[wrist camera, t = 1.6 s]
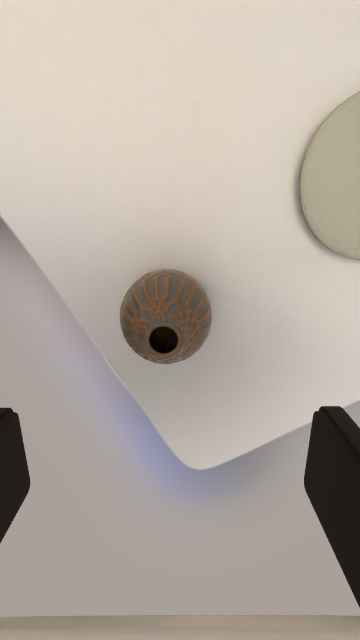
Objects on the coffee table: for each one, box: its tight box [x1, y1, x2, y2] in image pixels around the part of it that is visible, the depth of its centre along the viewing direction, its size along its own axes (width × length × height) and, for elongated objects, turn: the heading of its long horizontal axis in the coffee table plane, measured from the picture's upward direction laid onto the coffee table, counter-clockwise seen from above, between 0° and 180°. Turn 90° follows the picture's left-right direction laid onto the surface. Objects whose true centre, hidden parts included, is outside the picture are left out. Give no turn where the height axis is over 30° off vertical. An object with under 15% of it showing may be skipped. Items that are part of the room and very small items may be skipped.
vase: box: [120, 270, 212, 364], centre depth 24 cm, size 7×7×9 cm
